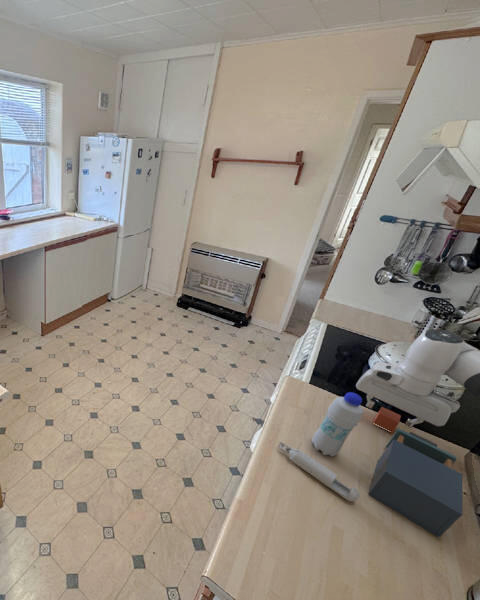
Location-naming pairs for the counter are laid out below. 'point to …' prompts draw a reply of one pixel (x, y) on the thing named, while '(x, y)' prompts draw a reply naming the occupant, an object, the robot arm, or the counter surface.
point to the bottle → (338, 424)
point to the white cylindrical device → (320, 472)
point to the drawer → (423, 447)
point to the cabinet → (418, 488)
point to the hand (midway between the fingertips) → (387, 415)
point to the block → (387, 419)
